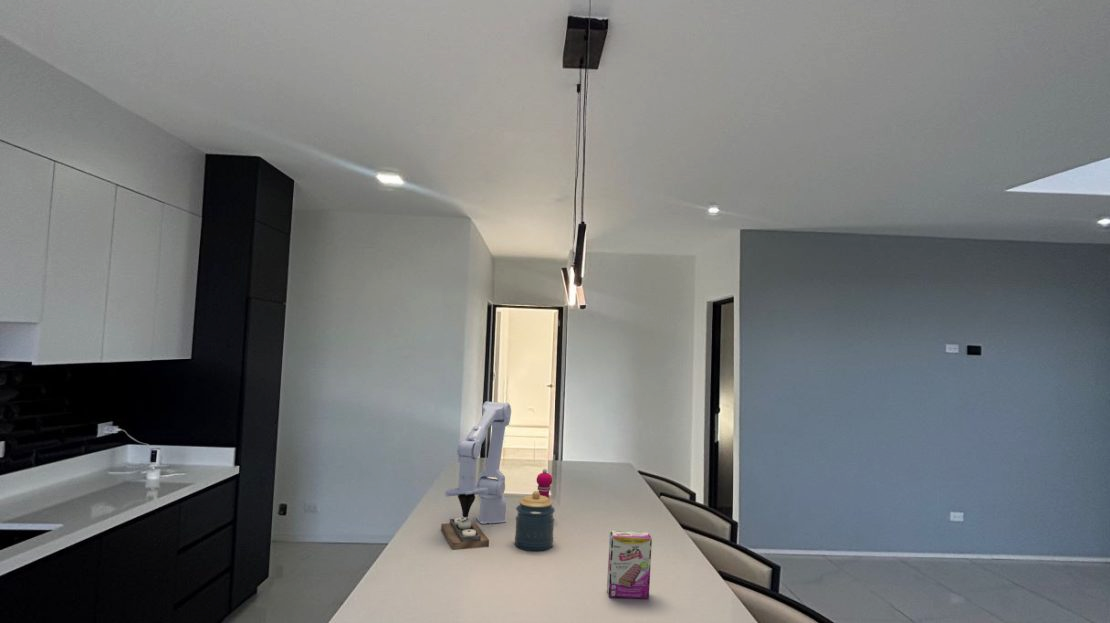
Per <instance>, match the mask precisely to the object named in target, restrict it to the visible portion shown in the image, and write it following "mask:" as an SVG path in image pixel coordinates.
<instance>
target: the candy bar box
mask: <svg viewBox="0 0 1110 623" xmlns="http://www.w3.org/2000/svg"><path fill="white" fill-rule="evenodd" d="M608 540H609V542H608V543H609V544H608V545H609V546H608V560H607V580H606V581H607V582H606V592H607V591H608V592H607V595H609V596H608V598H614V597H620V598H621V597H622V599H638V598H640V600H642V599H645V600H648V599H649V598H650V584H651V583H650V582H651V564H652V563H651V562H652V547H653V546H652V544H653V542H652V541H653V538H652V537H651V535H650V533H649V532H642V531H641V532H640V531H639V532H638V531H622V530H621V531H620V530H610V531H609V539H608Z"/></svg>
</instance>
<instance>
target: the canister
mask: <svg viewBox="0 0 1110 623" xmlns="http://www.w3.org/2000/svg"><path fill="white" fill-rule="evenodd" d="M518 503H519V505H517V506H516V507H515V509H516V512H517V516H516V517H515V535H514V542H515V543H514V544H515V546H516V547H518V548H520V549H522V550H526V551H532V552H533V551H534V552H538V551H540V552H541V551H545V550H549V549H551V548H552V546H553V543H554V522H555V518H554V513H555V512H556V511H555V508H554V506H551V505H553V504H554V503H553V501H552V500H551V499H550V497H549V498H548V497H546V496H542V495H540V493H539V490H538V491H537V490H534V491H533V492H532V494H529V495H528V494H527V495H525V496H523V497H522V498H520V499H519V500H518Z"/></svg>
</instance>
